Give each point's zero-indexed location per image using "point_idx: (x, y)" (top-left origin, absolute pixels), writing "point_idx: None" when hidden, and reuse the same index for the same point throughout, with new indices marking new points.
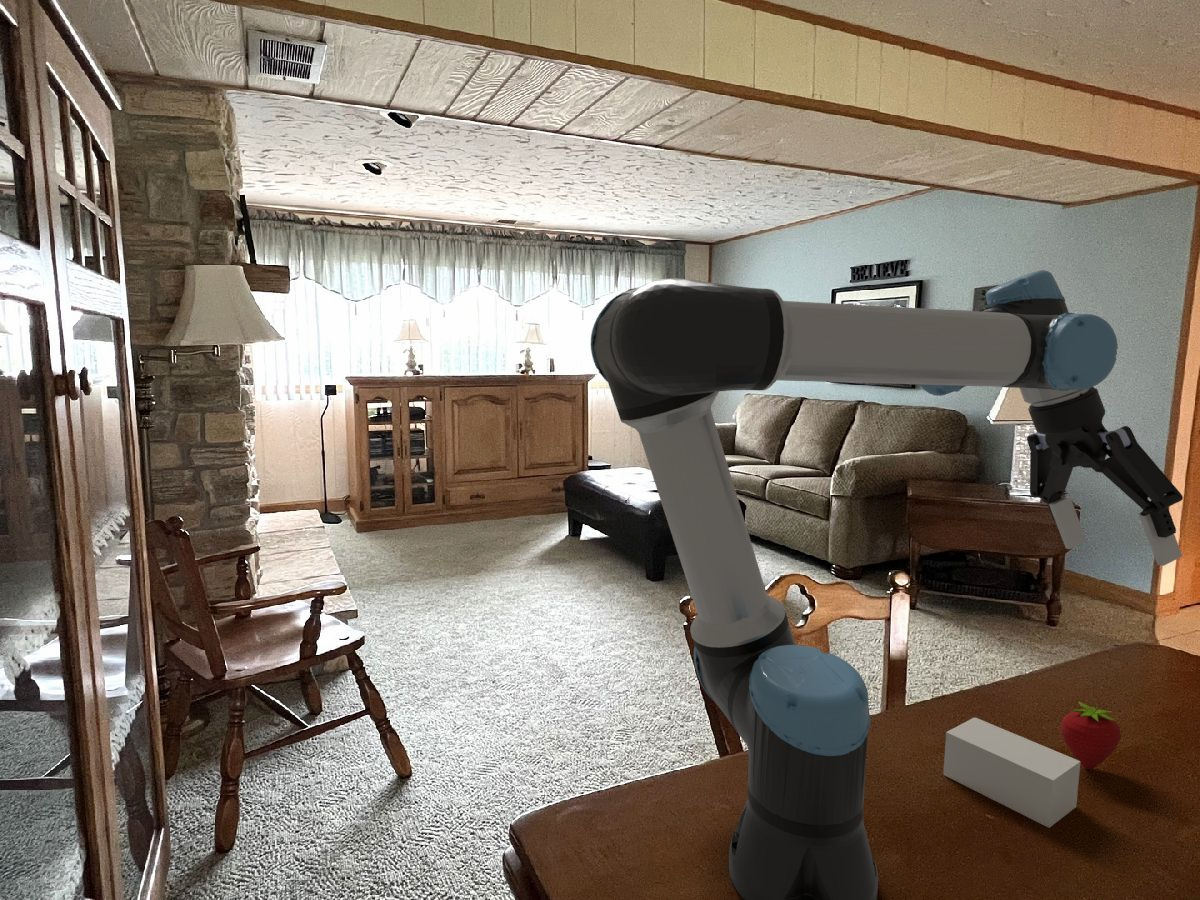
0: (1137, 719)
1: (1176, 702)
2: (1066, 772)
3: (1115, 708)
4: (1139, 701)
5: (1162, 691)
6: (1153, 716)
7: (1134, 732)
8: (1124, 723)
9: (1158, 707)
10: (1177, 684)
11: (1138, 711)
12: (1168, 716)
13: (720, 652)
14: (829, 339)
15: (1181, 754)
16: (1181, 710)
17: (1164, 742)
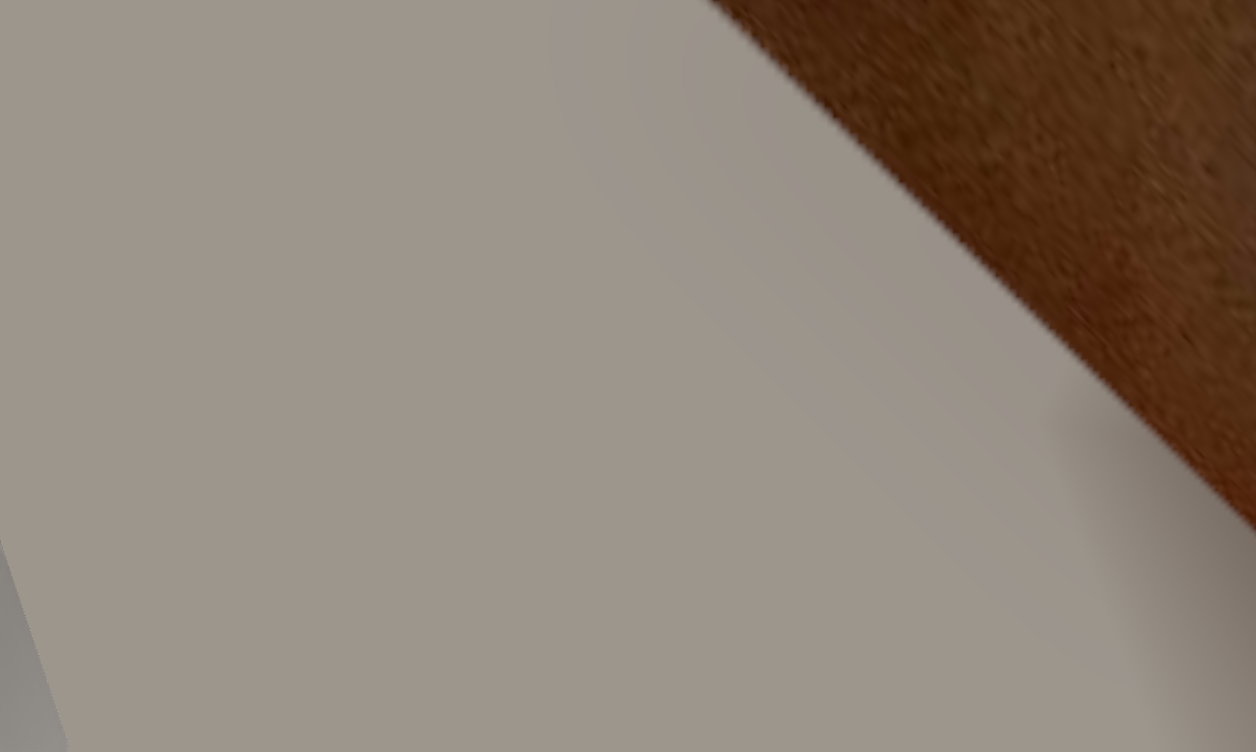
0: (1128, 179)
1: (1160, 386)
2: None
3: (1233, 170)
4: (1227, 290)
5: (1240, 407)
6: (1120, 247)
7: (1056, 90)
8: (1126, 109)
9: (1162, 312)
10: (1250, 478)
11: (1173, 229)
12: (1098, 291)
13: None
14: None
15: (872, 124)
16: (1112, 358)
17: (958, 135)
